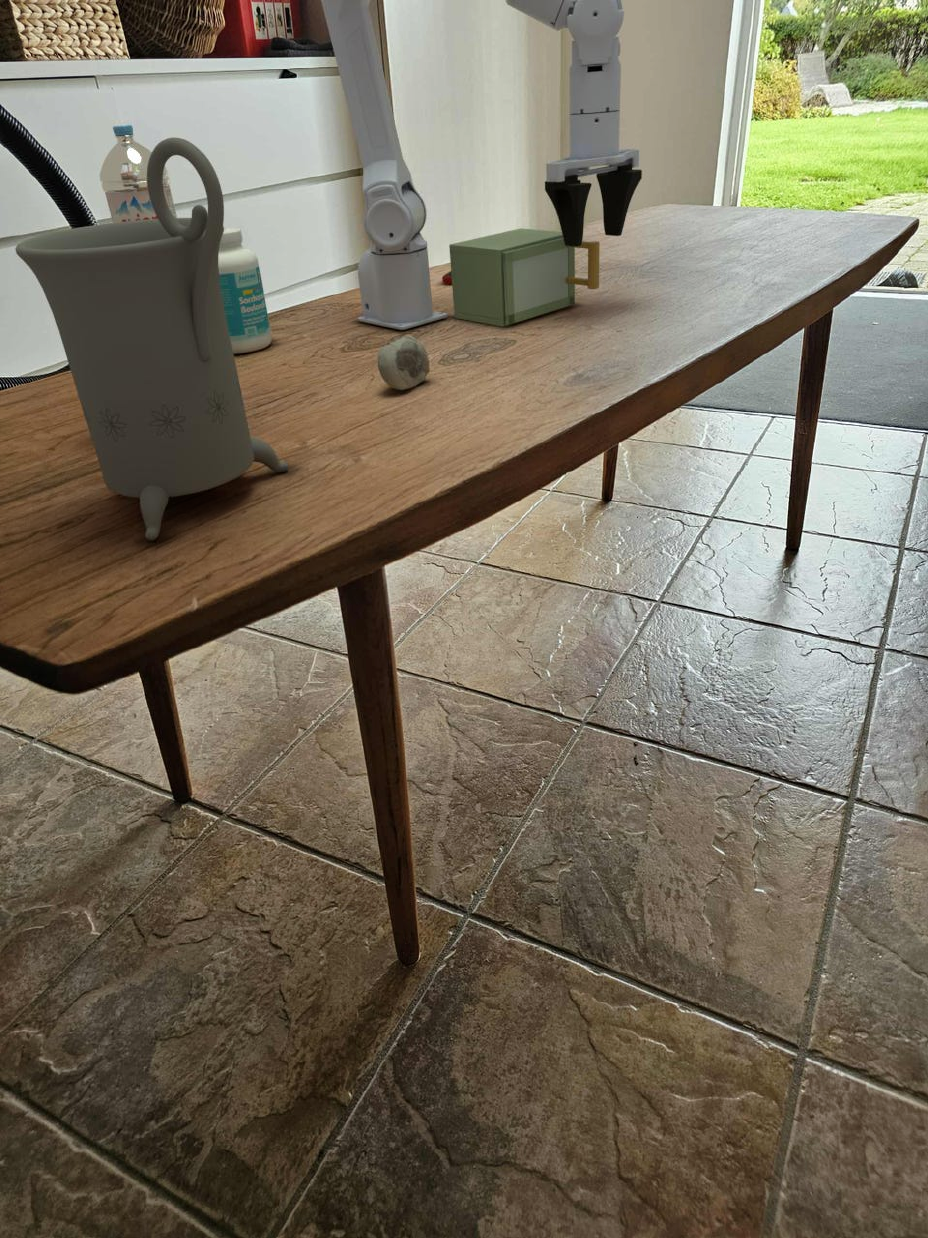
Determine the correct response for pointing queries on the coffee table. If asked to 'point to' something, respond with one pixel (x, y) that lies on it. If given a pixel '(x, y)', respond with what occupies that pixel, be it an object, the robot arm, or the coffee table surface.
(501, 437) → the coffee table surface
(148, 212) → the water bottle
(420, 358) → the fossil
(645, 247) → the coffee table surface
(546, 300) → the cabinet door
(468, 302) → the cabinet
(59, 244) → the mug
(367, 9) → the robot arm
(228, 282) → the pill bottle
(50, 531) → the coffee table surface
